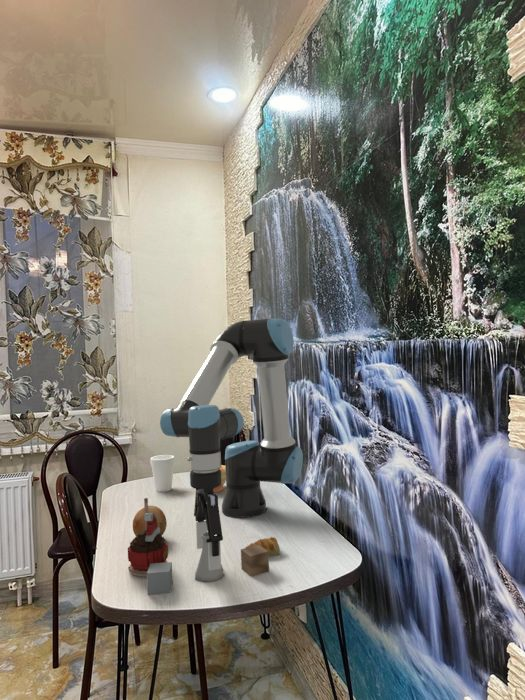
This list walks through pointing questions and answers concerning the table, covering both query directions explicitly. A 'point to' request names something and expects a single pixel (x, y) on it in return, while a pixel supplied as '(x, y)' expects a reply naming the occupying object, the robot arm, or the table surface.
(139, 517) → the onion
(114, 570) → the table surface
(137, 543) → the cake
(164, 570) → the slate-grey block
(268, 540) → the pastry
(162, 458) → the foam cup
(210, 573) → the flask
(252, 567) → the walnut block
